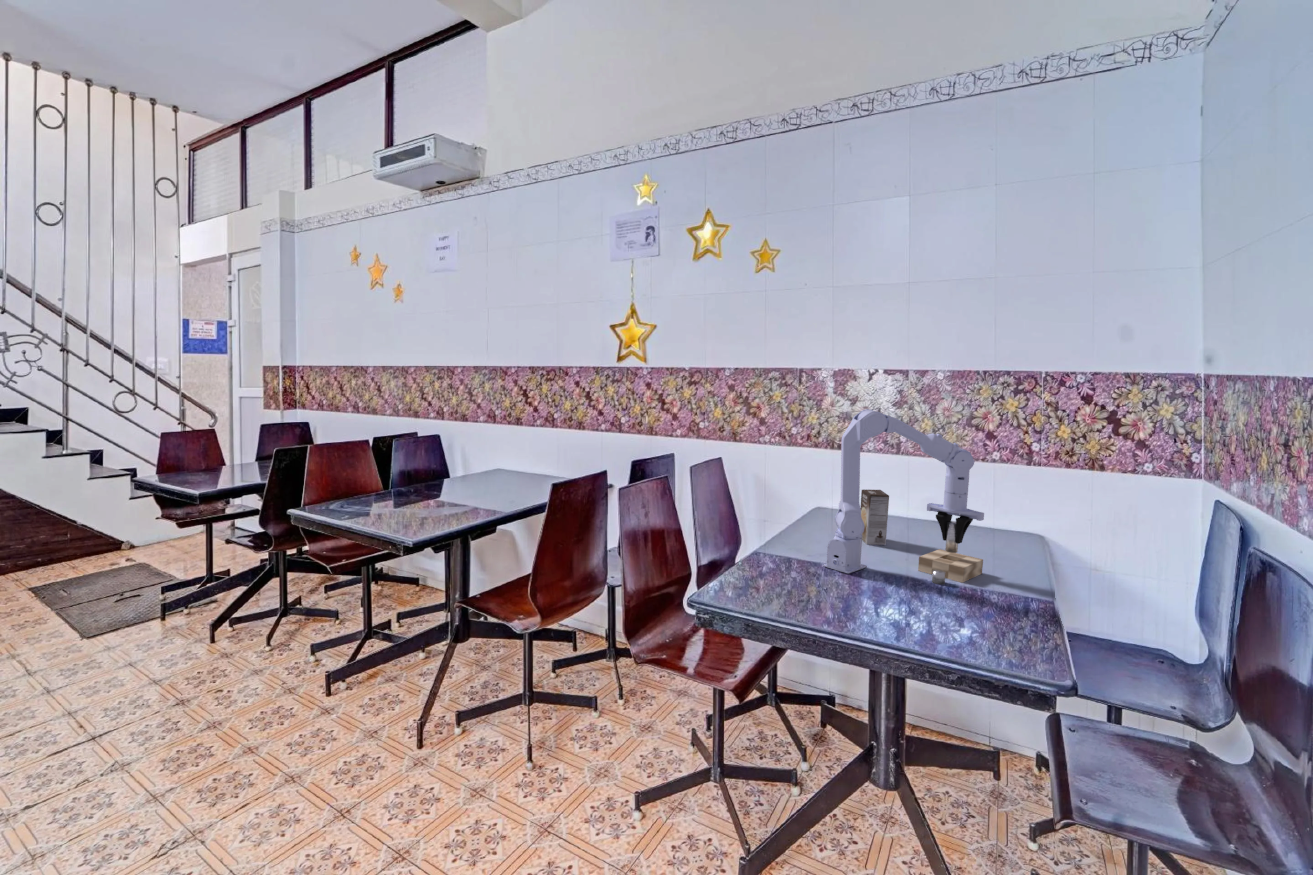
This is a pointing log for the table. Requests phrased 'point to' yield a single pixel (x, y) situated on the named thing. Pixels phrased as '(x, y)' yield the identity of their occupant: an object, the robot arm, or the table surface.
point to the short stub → (938, 577)
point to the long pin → (951, 537)
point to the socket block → (951, 565)
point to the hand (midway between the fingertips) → (952, 541)
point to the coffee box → (874, 516)
